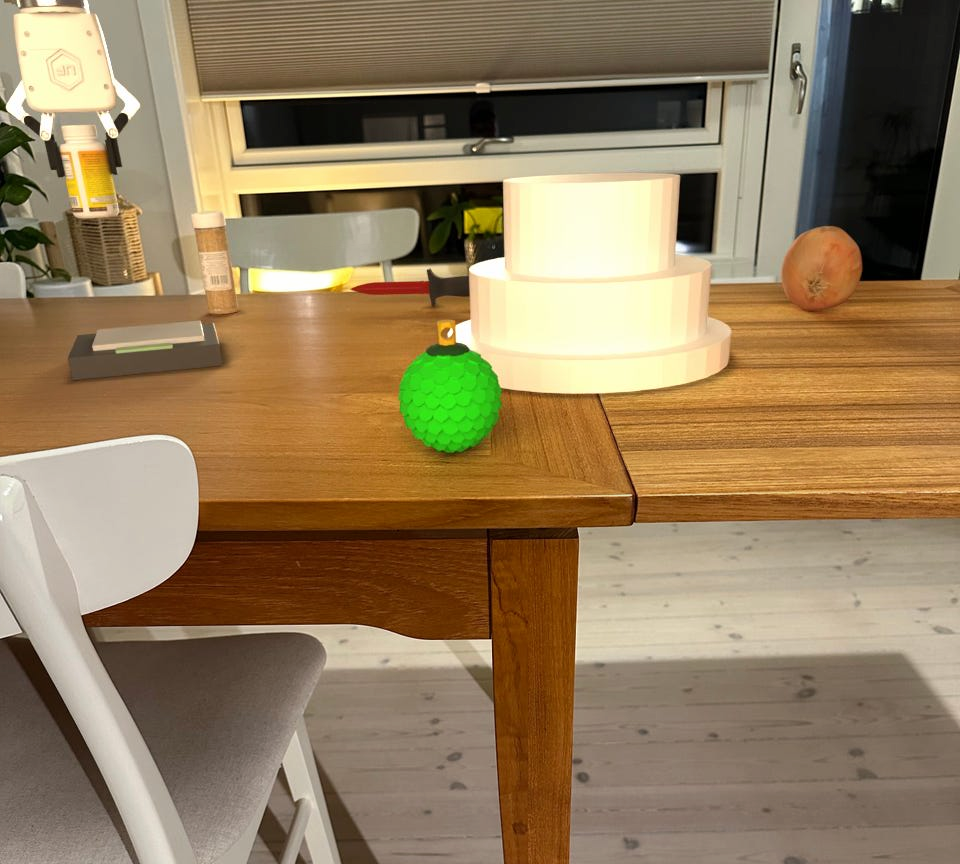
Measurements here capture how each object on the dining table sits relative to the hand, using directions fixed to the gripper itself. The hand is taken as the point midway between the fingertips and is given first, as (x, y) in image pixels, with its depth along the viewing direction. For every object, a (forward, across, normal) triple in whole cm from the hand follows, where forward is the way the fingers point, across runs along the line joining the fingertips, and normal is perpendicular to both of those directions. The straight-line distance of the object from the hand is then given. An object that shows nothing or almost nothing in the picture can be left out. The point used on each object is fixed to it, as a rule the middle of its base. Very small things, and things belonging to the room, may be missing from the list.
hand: (88, 174), depth 118 cm
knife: (+19, +43, 0) cm, 47 cm away
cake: (+19, +49, -42) cm, 68 cm away
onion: (+19, +86, -30) cm, 93 cm away
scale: (+19, +4, -20) cm, 28 cm away
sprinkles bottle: (+19, +14, +10) cm, 26 cm away
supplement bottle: (+5, 0, 0) cm, 5 cm away
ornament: (+19, +27, -68) cm, 75 cm away
